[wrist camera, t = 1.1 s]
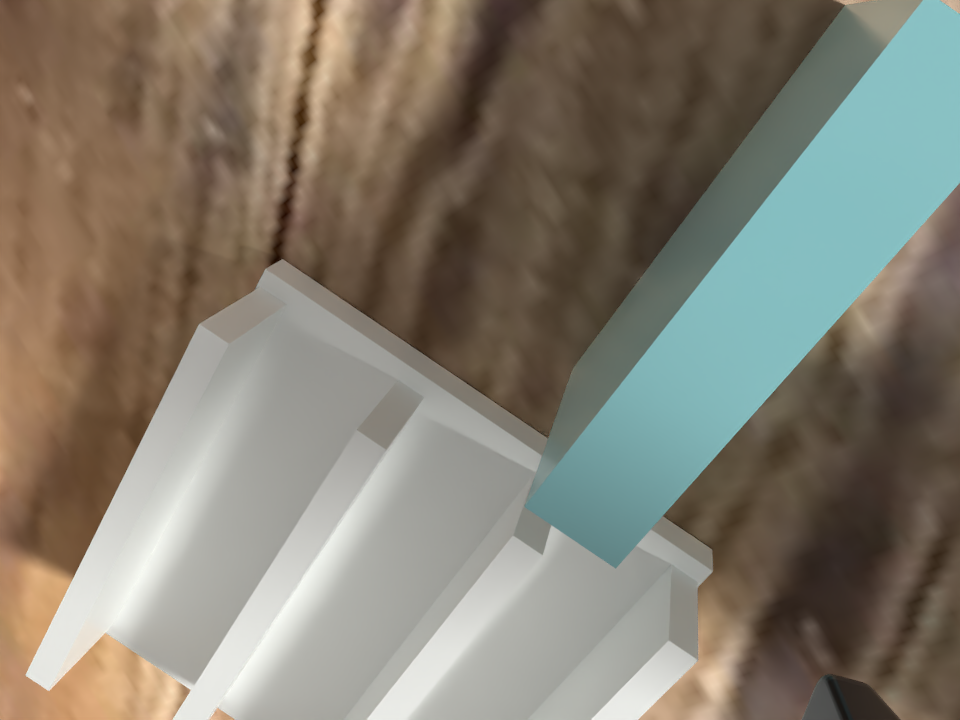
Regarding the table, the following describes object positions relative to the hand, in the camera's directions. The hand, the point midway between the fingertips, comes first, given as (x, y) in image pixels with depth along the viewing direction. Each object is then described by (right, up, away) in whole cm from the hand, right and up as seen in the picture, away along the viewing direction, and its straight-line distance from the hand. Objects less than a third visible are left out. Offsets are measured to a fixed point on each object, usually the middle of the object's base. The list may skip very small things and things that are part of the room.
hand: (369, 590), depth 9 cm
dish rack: (-2, -4, +17) cm, 17 cm away
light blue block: (+7, +5, +11) cm, 14 cm away
